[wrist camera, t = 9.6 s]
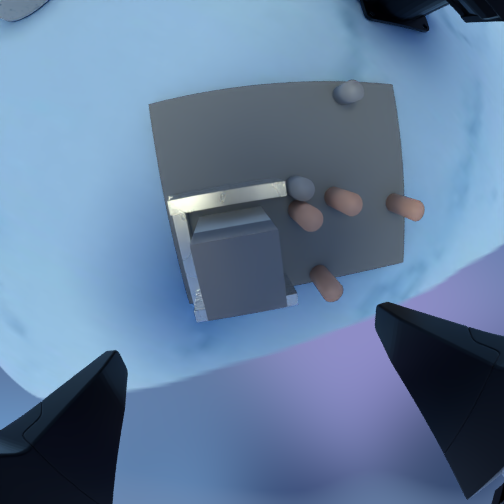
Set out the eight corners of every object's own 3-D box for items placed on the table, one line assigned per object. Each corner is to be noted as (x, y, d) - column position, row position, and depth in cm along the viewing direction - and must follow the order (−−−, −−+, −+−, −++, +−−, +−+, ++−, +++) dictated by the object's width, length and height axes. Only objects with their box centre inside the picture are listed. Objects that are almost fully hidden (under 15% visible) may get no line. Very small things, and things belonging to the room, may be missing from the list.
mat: (388, 85, 17) (392, 84, 16) (399, 259, 22) (403, 262, 21) (150, 105, 16) (148, 104, 16) (190, 299, 21) (189, 303, 20)
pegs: (389, 88, 16) (412, 81, 14) (399, 264, 21) (420, 279, 18) (270, 88, 16) (279, 76, 13) (295, 287, 21) (306, 307, 18)
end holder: (275, 177, 18) (285, 181, 15) (288, 284, 20) (298, 304, 18) (171, 195, 18) (162, 202, 15) (195, 300, 20) (192, 323, 17)
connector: (268, 263, 20) (287, 306, 14) (211, 273, 20) (208, 320, 14) (260, 206, 18) (278, 229, 13) (199, 217, 18) (189, 245, 13)
